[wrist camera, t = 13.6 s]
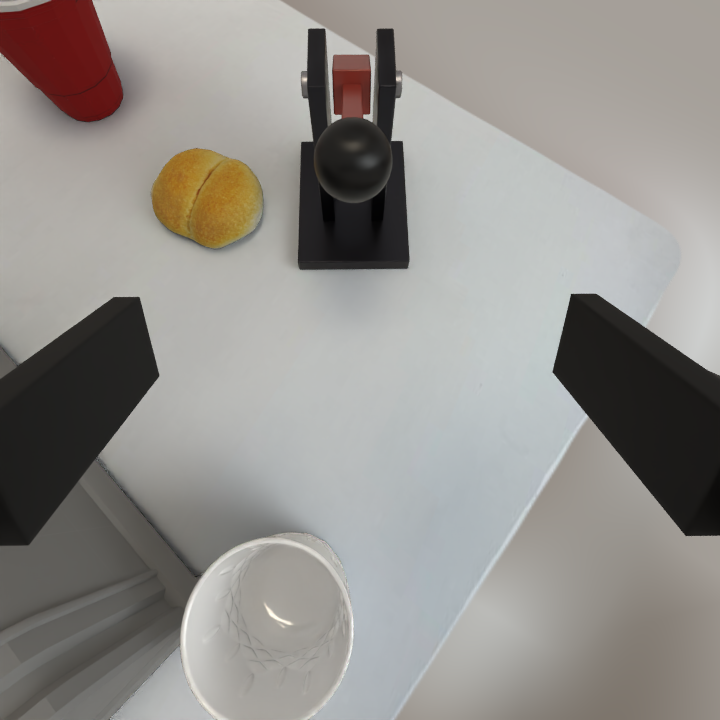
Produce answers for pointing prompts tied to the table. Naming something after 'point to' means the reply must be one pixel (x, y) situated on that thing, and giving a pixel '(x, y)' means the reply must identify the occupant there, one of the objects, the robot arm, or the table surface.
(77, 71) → the plastic cup
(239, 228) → the bread roll
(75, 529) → the toaster
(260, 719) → the white cup
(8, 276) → the table surface
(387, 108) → the bracket
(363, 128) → the lever
